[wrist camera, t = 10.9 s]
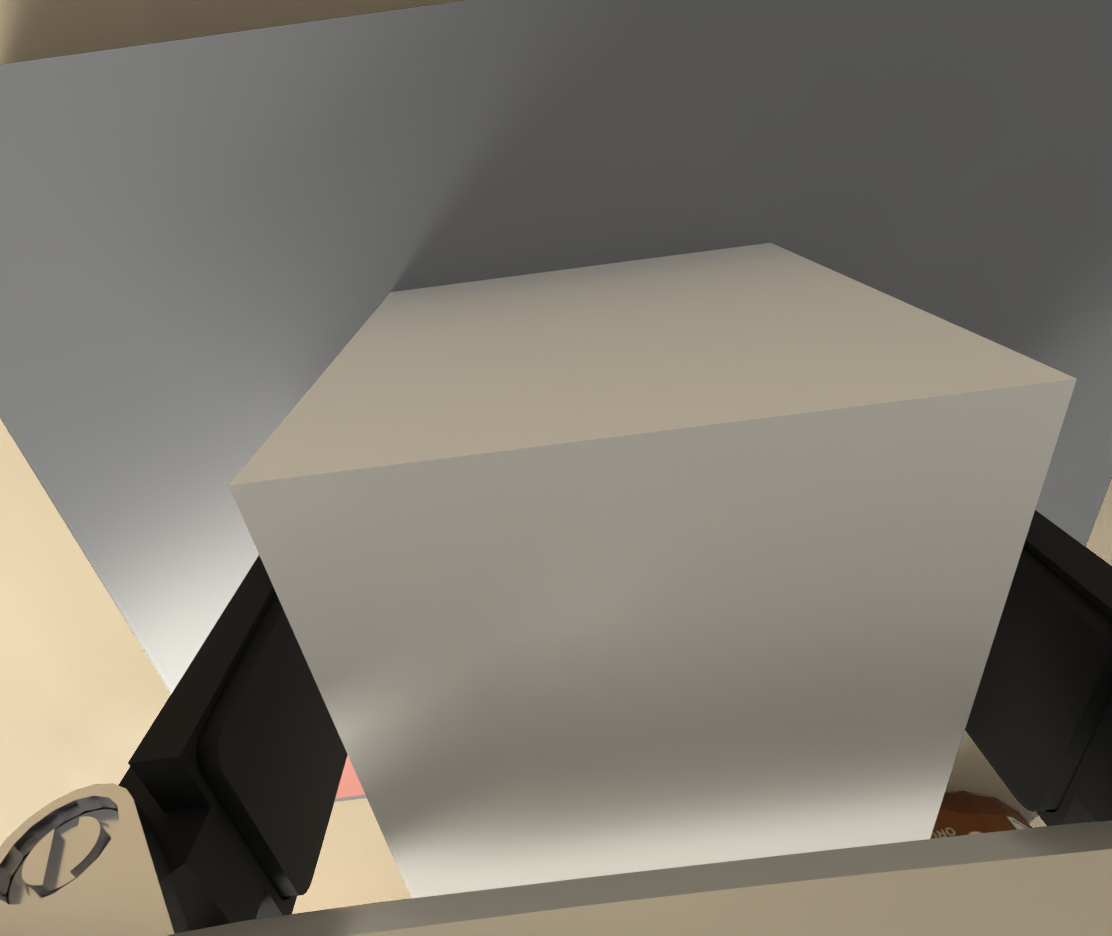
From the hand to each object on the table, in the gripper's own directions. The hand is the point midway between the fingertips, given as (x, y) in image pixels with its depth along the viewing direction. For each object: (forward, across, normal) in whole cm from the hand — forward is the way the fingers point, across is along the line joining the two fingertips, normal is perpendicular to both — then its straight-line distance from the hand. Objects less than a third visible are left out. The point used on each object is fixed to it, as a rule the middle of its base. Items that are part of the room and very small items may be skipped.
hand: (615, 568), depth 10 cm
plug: (+5, 0, 0) cm, 5 cm away
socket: (+5, 0, 0) cm, 5 cm away
